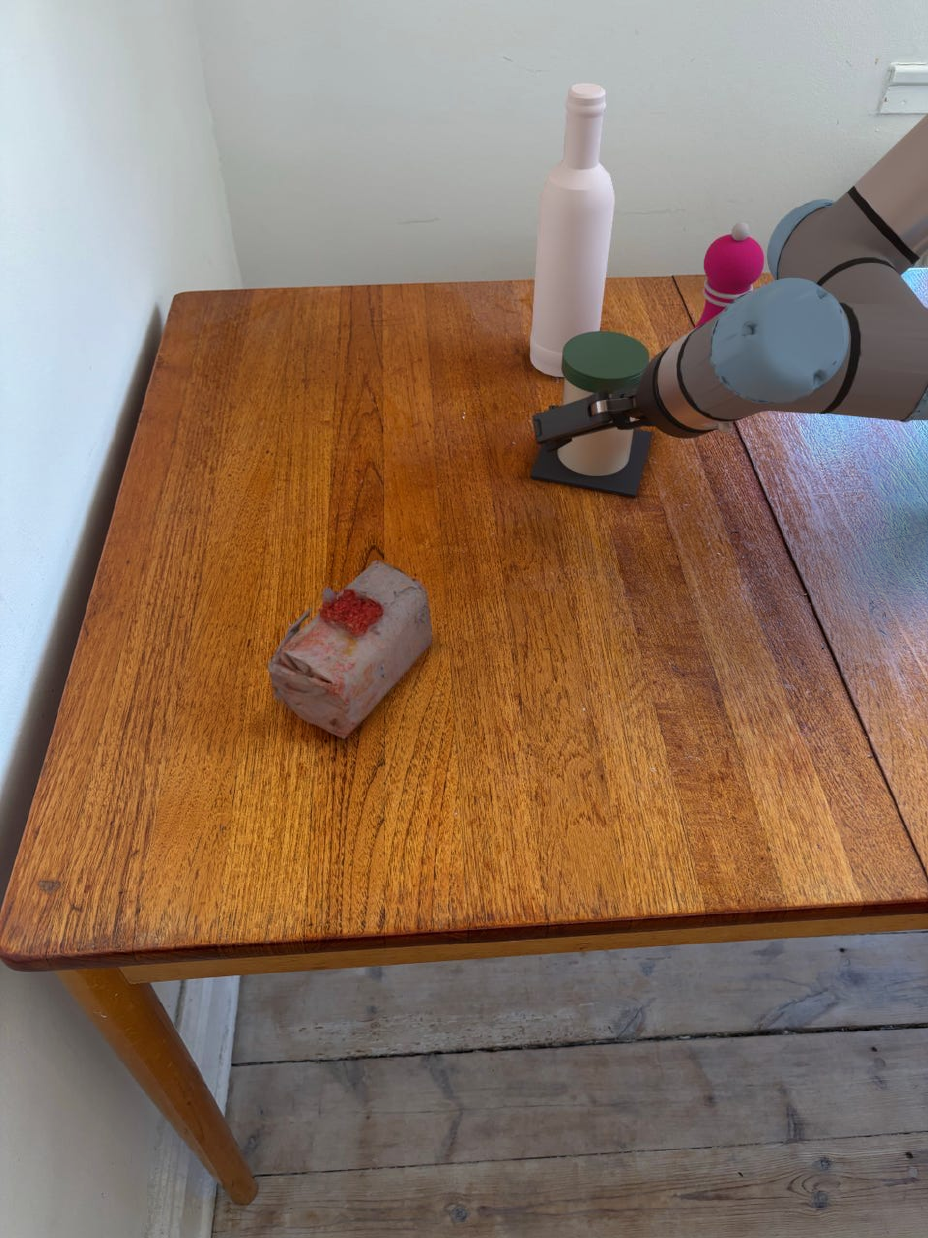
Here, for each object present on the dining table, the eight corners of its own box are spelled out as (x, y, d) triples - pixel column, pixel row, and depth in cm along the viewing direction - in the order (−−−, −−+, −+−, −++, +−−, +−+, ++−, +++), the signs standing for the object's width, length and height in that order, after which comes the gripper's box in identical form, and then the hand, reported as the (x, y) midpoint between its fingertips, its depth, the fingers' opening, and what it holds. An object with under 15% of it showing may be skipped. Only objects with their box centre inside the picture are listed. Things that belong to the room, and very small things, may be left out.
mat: (652, 435, 109) (653, 432, 109) (635, 498, 102) (635, 495, 102) (553, 417, 111) (553, 414, 111) (529, 478, 104) (529, 474, 104)
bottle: (515, 358, 119) (528, 86, 97) (561, 334, 123) (584, 67, 101) (563, 386, 115) (589, 111, 93) (610, 361, 119) (645, 90, 97)
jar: (635, 438, 108) (650, 344, 100) (622, 482, 103) (637, 386, 95) (565, 426, 109) (575, 332, 101) (550, 468, 104) (558, 372, 96)
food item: (346, 757, 80) (335, 677, 73) (269, 713, 83) (251, 632, 76) (441, 649, 88) (440, 567, 81) (368, 612, 91) (360, 530, 84)
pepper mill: (679, 412, 112) (713, 240, 97) (668, 375, 117) (699, 206, 102) (743, 411, 112) (787, 239, 98) (729, 375, 117) (769, 206, 103)
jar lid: (653, 354, 101) (656, 338, 99) (640, 401, 95) (642, 384, 94) (571, 340, 102) (572, 325, 101) (552, 386, 97) (554, 369, 96)
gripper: (553, 453, 76) (497, 484, 97) (854, 410, 80) (738, 449, 101) (538, 354, 76) (485, 406, 97) (841, 316, 80) (727, 374, 101)
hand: (614, 428), depth 99 cm, fingers open, 13 cm apart
